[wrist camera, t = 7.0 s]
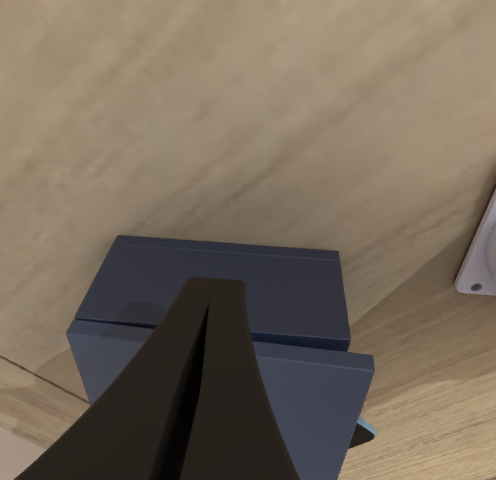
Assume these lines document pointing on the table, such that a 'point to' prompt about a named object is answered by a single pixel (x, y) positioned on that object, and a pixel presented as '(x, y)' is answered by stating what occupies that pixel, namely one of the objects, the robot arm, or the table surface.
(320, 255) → the box
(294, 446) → the lid
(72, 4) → the table surface
